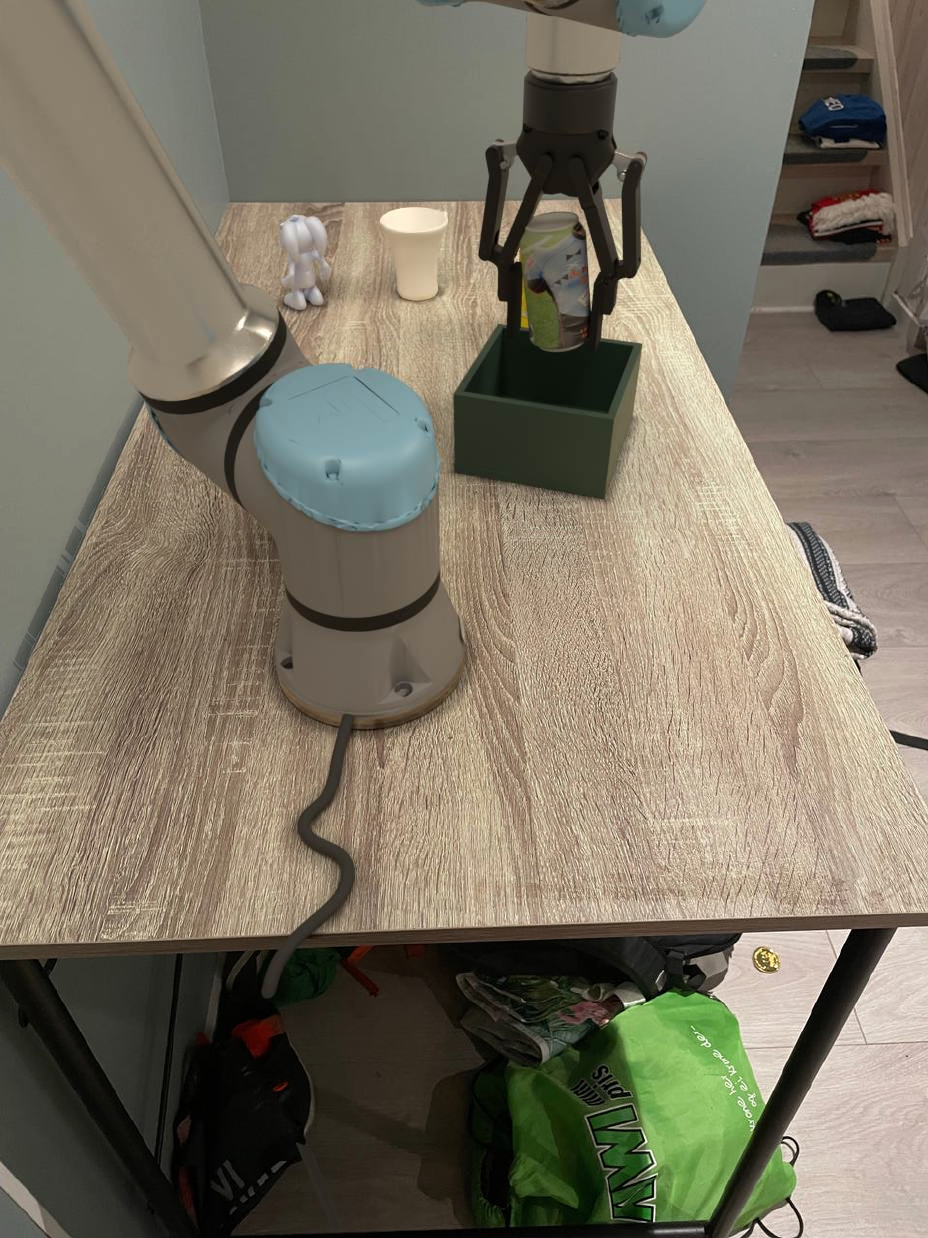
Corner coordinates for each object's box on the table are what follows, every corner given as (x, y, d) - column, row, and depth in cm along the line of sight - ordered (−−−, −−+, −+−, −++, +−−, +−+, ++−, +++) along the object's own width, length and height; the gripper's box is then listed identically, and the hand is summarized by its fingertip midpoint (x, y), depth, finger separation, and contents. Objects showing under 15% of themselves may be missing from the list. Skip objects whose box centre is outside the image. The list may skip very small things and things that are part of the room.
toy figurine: (319, 289, 126) (308, 198, 117) (340, 306, 122) (331, 213, 113) (273, 301, 123) (259, 209, 115) (293, 318, 119) (280, 224, 111)
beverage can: (587, 362, 86) (599, 233, 78) (510, 355, 87) (514, 227, 79) (594, 332, 91) (606, 207, 83) (520, 326, 92) (525, 202, 84)
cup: (461, 298, 123) (460, 222, 116) (396, 310, 121) (391, 233, 114) (438, 273, 129) (436, 200, 122) (375, 284, 127) (370, 209, 120)
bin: (604, 499, 90) (614, 419, 84) (454, 472, 93) (453, 393, 87) (632, 419, 101) (642, 343, 95) (496, 397, 104) (498, 323, 98)
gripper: (704, 67, 73) (663, 335, 89) (464, 51, 78) (466, 308, 94) (692, 91, 68) (651, 371, 84) (436, 72, 73) (442, 341, 88)
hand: (553, 337), depth 89 cm, fingers closed on beverage can, 7 cm apart
